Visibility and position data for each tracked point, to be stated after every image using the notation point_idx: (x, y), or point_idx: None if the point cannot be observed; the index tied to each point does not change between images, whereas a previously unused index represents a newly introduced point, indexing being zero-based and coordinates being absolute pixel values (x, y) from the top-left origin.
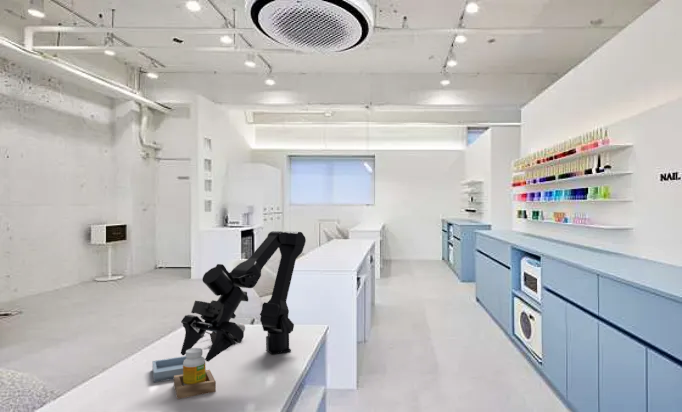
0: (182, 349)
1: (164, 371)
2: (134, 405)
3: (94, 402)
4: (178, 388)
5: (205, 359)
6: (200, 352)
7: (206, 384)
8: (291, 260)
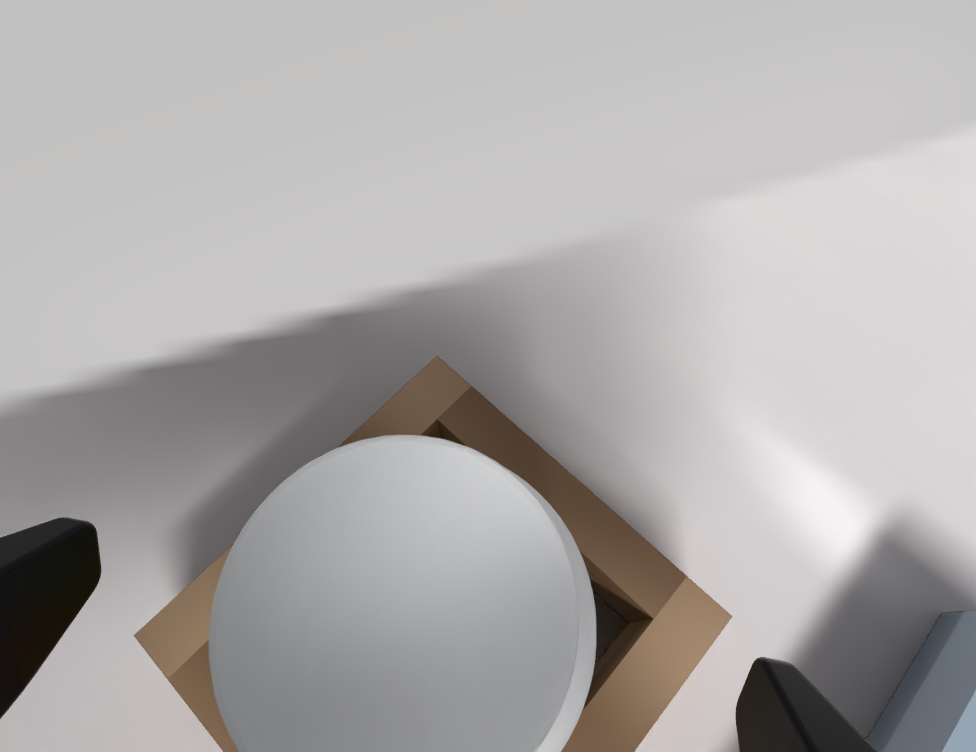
0: (814, 711)
1: (967, 704)
2: (665, 230)
3: (957, 186)
4: (429, 365)
5: (84, 521)
6: (216, 605)
7: (223, 557)
8: None
